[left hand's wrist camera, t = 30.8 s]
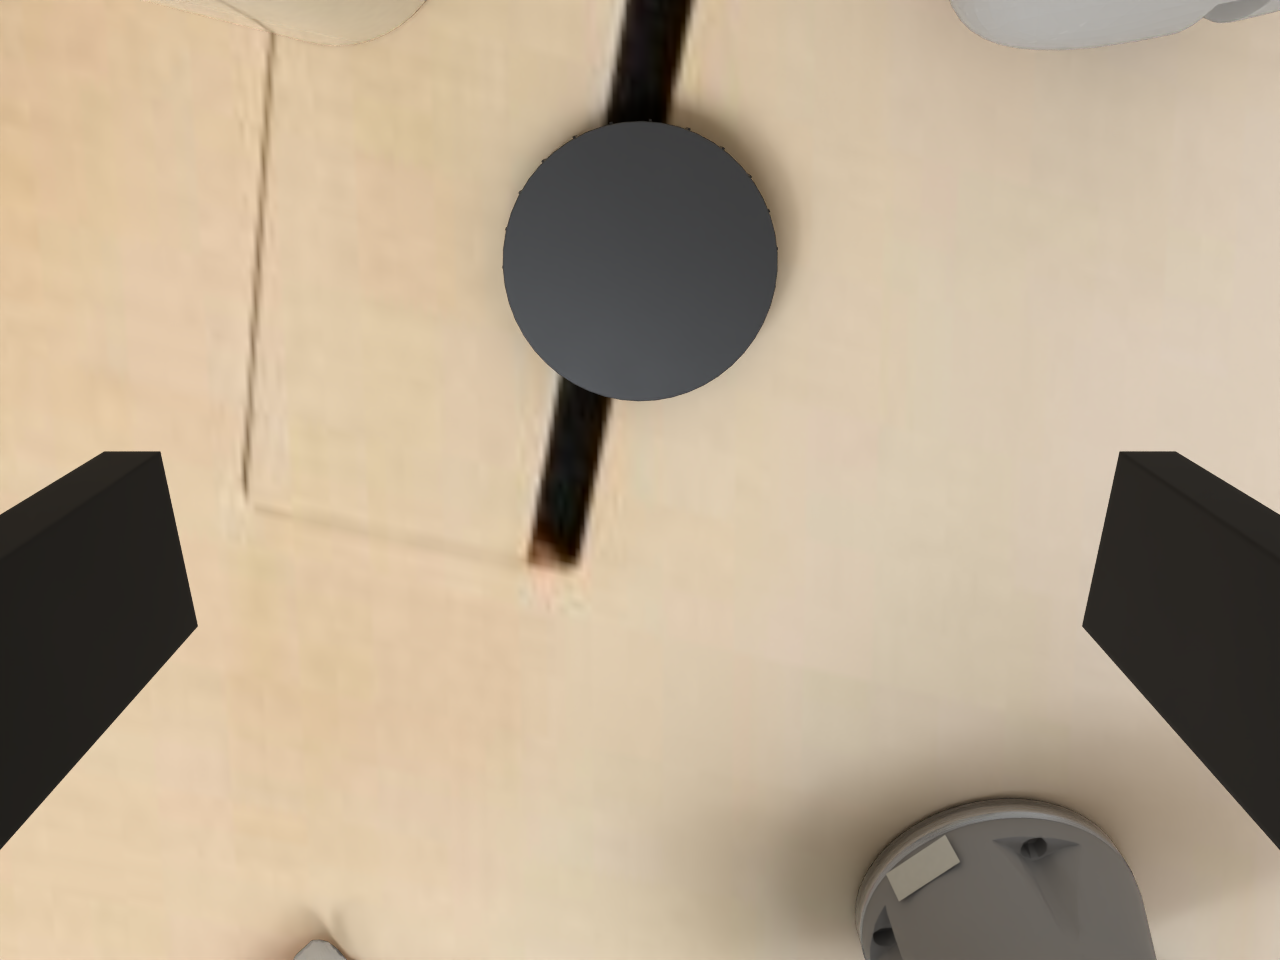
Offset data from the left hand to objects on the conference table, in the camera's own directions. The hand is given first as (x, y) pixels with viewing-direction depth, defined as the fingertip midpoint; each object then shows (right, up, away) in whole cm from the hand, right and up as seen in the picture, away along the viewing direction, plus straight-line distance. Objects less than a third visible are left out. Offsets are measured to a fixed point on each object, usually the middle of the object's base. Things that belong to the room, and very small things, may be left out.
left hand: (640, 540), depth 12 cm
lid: (0, +9, +23) cm, 25 cm away
